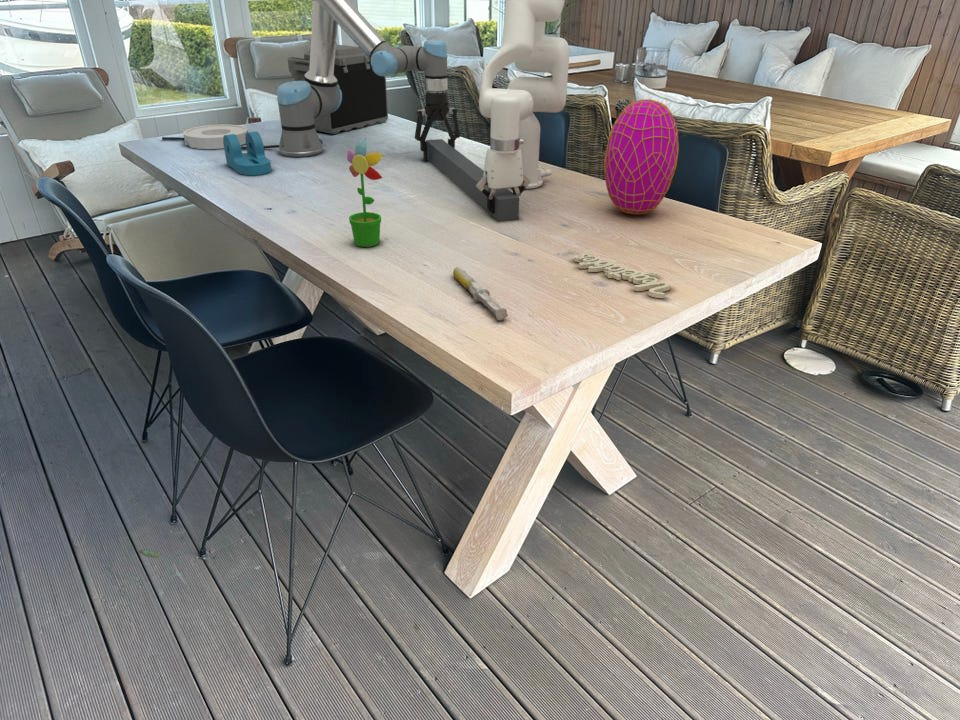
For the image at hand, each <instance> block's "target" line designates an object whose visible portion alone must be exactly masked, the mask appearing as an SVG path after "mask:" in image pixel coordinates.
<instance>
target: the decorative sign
mask: <svg viewBox="0 0 960 720" xmlns="http://www.w3.org/2000/svg"><path fill="white" fill-rule="evenodd" d="M574 262H575V263H578V269H588V270H587V272H588V273H598V272H603V273H604V276H606V277H607V278H608V279H614V280H617V281H621V279H622V280H627V281H628V282H630V283H633V284H634V285H633V291H636V292H643V291H647V290H648V293H647V294H648V296H649V297H652V298H656V299H664V298H665V295H666V292H668V291H669V290H670V289H671V283H670V282H668V281H659V279H658V272H657V271H648V272H639V271H637V270H634V269H630V268H628V267H627V266H626V267H625V266H624V265H619V264H618V263H615V262H611V261H610V260H604V258H601V257H598V256H596V255H592V254H590V253H587V252H586V253H582V254H581V255H580V256H578V255H575V256H574Z"/></svg>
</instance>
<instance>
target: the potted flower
mask: <svg viewBox="0 0 960 720" xmlns="http://www.w3.org/2000/svg"><path fill="white" fill-rule="evenodd" d="M382 158H383V154H382V153H379V152H370V153H368V154H367V138H363V139H361V140H360V141H359V142H357V144H356V145H355V150H354V151H353V150H352V149H348V150H347V155H346V160H347V162H348V163H349V164H351V165H350V166H349V167H348V170H349V172H350V173H351V175H352V177H354V178H357V177H358V176H359V175H360V186H361V187H356V188H357V191H356V192H357V193H358V194H359V195H360V196H361V199H362V212H356V213H353V214H351V215H350V216H349V217H348V220H349V224H350V226H351V227H350V228H351V232H352V237H353V243H354V244H355V246H358V247H363V248H368V247H375V246H377V245H379V243H380V241H381V240H380V238H381V235H380V234H381V223H382V215H381V214H380V213H378V212H377V213H376V212H373V211H371V212H369V211H367V207H366V205H372V204H373V203H374V202H375V199H374V198H373V197H371V196H366V194H365V179H364V176H365V177H366V178H367V179H369V180H371V181H377V180H381V179H382V178H383V176H382V175H381V173H380V172H378V170H376V169H375V168H373V167H374V166H376V165H377V164H379V163H380V161H381V159H382Z"/></svg>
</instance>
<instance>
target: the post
mask: <svg viewBox="0 0 960 720" xmlns="http://www.w3.org/2000/svg"><path fill="white" fill-rule="evenodd" d="M425 141H426V142H427V155H428V161H429V162H431V164H433V165H434V166H435V167H436V168H437V169H438V170H440V171H441V172H442V173H443V174H444V175H445V176H446V177H447V178H449V180H451V181H452V182H453V183H454V184H455V185H456V186H457V187H459V188H460V189H461V190H462V191H463V192H464V193H465V194H466V195H467V196H469V197H470V198H471V199H472V200H473V201H474V202H475V203H476V204H478V205H479V206H480V207H481V208H482V209H483V210H485V211H486V212H487V213H488V214H489V215H490V216H492V218H493V219H495V220H496V221H497V222H498V223H499V222H507V221H515V220H516V221H517V220H519V217H520V216H519V214H520V197H518V196H516V195H515V194H514V193H513V191H512V190H510V188H503V189H496V191H495V194H494V197H493V199H494V200H495V213H494V214H492V213H491V212H489V210H488V209H487V197H486V196H485V195H484V194H483V193H482V192H481V191H480V190H479V189H478V188H477V187H476V184H477V183H478V182H479V181H480V180H481V179H482V178H483V176H484V169H482V168H481V167H480V166H478V165H477V164H476V163H474V162H473V161H472V160H471V159H470V158H467V156H465V155H464V154H463V153H462V152H460V151H458V150H457V149H456V148H455V149H454V148H453V147H452V146H450V145H449V144H448V142H446V141H445V140H444V139H443V138H437V139H426V140H425ZM483 187H484V188H485V189H486V190H487V189H488V185H485V184H484V186H483Z"/></svg>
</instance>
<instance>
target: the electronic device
mask: <svg viewBox="0 0 960 720" xmlns="http://www.w3.org/2000/svg"><path fill="white" fill-rule="evenodd" d="M310 51H311V48H310V49H309V51H307V52H306V53H304V54H303V57H294V56H292V57H287V67H288V71H289V73H290V75H291V76H292V78H293V81H304V78H305V73H307V72H308V71H309V67H310ZM334 76H335V77H336V78H337V84H338V85H339V87H340V88H339V89H340V90H341V92H342V101H341V104H340V106H339V108H338V109H337V110H336V111H334V112H332V113H331V114H328V115H323V116H320V117H316V118H314V122H315V130H316V132H321V133H324V134H330V135H337V134H339V133H340V132H349V131H351V130H352V129H362V128H365V126H368V127H369V126H374V125H375V124H376V123H379V124H382V123H383V124H384V123H385V122H387V121H388V119H389V110H388V109H389V108H388V93H387V91H388V90H387V79H386V76H379V75H377V74H376V73H375V72H374V71H373V69H372V66H371V59H370V58H369V57H368V56H367V55H366V54H365V53H364V52H363V51H362V50H361V49H360V47H359V46H353V45H346V44H345V45H344V44H336V52H335V64H334Z"/></svg>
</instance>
